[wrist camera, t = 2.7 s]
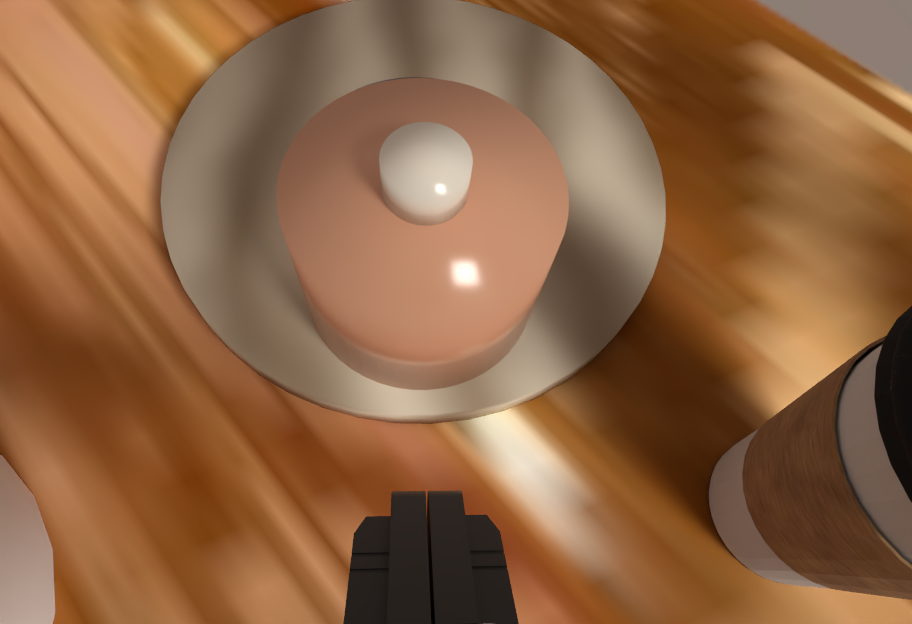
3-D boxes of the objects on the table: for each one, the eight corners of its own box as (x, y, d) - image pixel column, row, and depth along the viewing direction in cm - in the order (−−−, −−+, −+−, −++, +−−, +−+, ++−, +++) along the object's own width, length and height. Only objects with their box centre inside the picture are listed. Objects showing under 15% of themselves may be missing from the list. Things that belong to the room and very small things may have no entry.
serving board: (581, 2, 38) (587, -20, 37) (725, 373, 29) (741, 362, 28) (167, 37, 35) (157, 14, 34) (176, 471, 26) (163, 463, 24)
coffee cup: (715, 638, 24) (1106, 682, 11) (653, 423, 28) (889, 251, 14) (912, 600, 25) (1491, 596, 12) (828, 398, 29) (1205, 214, 15)
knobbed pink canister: (504, 176, 31) (537, 32, 23) (558, 368, 27) (619, 273, 19) (296, 202, 29) (255, 57, 22) (319, 409, 25) (280, 323, 18)
